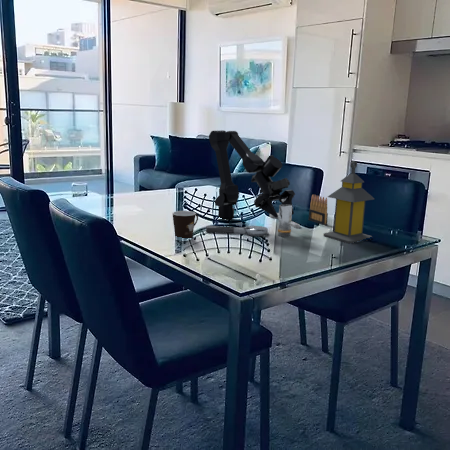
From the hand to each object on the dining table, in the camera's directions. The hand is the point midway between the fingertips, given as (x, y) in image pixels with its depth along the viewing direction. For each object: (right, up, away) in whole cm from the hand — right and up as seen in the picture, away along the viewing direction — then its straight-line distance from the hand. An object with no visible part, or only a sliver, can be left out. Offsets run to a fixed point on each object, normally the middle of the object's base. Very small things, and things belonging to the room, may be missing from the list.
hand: (285, 215), depth 194 cm
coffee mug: (-38, -9, -6) cm, 39 cm away
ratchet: (-19, -7, +4) cm, 20 cm away
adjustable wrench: (+2, -3, +26) cm, 26 cm away
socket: (0, -8, +2) cm, 8 cm away
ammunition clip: (+17, -3, +25) cm, 31 cm away
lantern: (+25, -9, +1) cm, 26 cm away
